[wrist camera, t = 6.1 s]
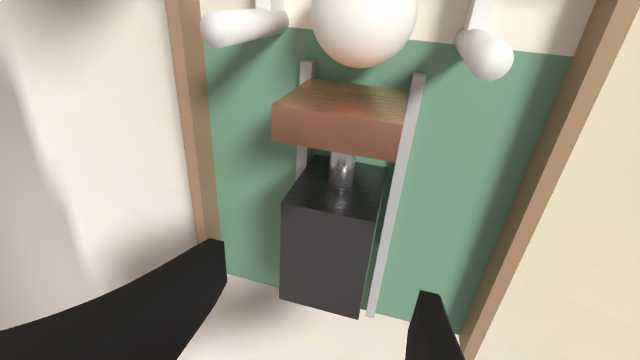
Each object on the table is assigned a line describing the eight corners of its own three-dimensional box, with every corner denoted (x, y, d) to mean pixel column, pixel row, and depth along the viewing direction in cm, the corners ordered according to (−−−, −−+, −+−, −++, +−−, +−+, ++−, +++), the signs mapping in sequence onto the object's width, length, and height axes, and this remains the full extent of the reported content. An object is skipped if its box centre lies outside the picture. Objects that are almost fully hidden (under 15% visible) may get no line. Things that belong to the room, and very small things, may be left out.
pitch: (467, 320, 20) (482, 432, 15) (224, 258, 24) (167, 334, 18) (629, -69, 11) (814, -128, 6) (195, -85, 14) (61, -133, 9)
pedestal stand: (377, 252, 18) (362, 327, 14) (304, 236, 19) (271, 302, 15) (409, 87, 14) (403, 125, 10) (314, 74, 15) (271, 104, 10)
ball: (406, 72, 10) (432, -69, 9) (291, 57, 11) (303, -75, 10) (406, 75, 13) (425, -27, 12) (318, 64, 14) (330, -34, 13)
